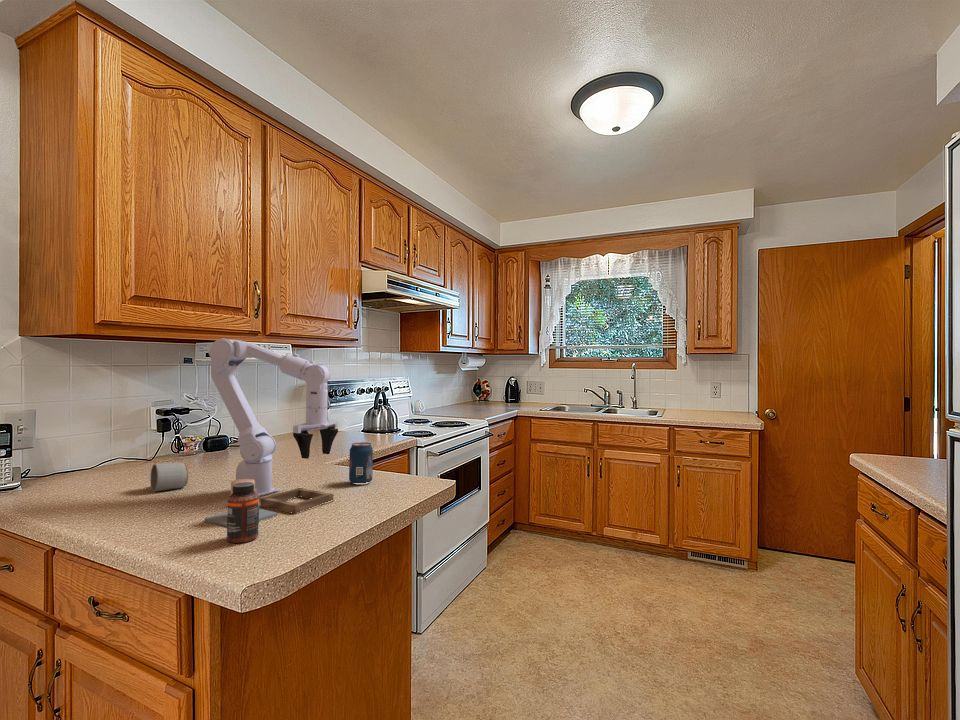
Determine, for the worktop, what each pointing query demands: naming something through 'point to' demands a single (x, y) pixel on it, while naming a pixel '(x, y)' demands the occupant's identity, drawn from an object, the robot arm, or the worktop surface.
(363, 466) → the soda can
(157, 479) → the grey cylinder
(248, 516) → the supplement bottle
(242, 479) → the peach capsule with nub
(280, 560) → the worktop surface
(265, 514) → the mat
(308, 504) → the frame
